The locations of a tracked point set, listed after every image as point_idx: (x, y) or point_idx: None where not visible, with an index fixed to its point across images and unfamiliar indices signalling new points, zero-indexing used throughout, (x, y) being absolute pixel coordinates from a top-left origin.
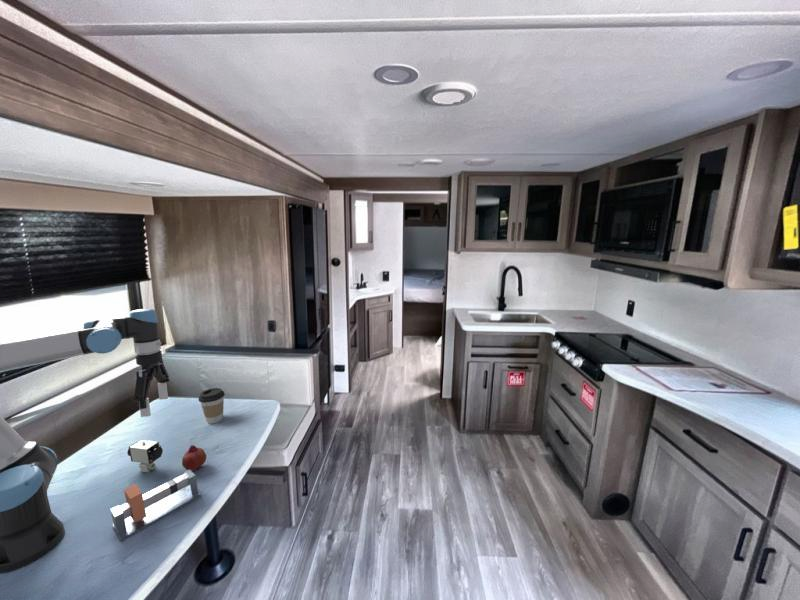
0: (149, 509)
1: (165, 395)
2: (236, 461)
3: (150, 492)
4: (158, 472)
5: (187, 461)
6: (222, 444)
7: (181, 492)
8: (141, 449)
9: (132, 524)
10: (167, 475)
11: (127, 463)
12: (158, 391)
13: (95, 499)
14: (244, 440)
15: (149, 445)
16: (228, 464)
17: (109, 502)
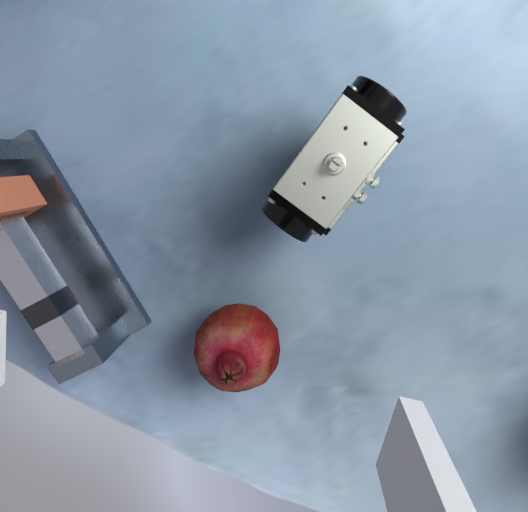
0: (60, 225)
1: (390, 490)
2: (225, 445)
3: (8, 252)
4: None
5: (197, 337)
6: (367, 406)
7: (108, 305)
8: (293, 161)
9: None
10: (246, 240)
11: (426, 57)
12: (433, 482)
13: (207, 12)
14: (353, 474)
15: (306, 196)
16: (219, 423)
17: (167, 74)
